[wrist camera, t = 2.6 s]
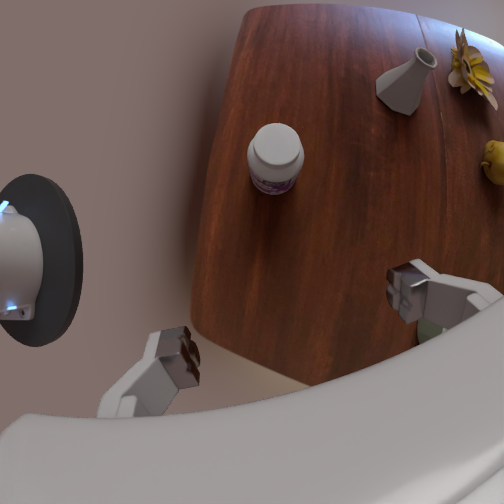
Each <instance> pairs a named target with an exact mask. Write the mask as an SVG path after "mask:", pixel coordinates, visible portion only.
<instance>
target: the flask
mask: <svg viewBox="0 0 504 504" xmlns="http://www.w3.org/2000/svg"><path fill="white" fill-rule="evenodd" d="M414 53H415V55H414V56H413V58H412V59H411V60H410V61H409V62H407V63H405V64H403V65H401V66H399V67H397V68H394V69H392V70H389V71H387V72H385V73H384V74H383V75H382V76H380V77H379V78H378V79H377V80H376V92H377V96H378V97H379V98H380V99H381V100H382V101H383V102H384V103H385V104H386V105H387V106H388V107H389V108H391V109H392V110H394V111H397V112H400V113H403V114H406V115H409V116H410V115H411V114H412V113H413V112H414V111H415V110H416V109H417V107H418V106H419V103H420V98H421V93H422V89H423V85H424V81H425V78H426V76H427V74H428V72H429V71H430V70H433V69H434V68H435V67H436V66H437V65H438V63H437V59H436V57H435V56H434V55H433V54H432V53H431V52H429V51H428V50H426V49H424V48H422V47H418V48H417V49H416V50H415V51H414Z"/></svg>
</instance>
